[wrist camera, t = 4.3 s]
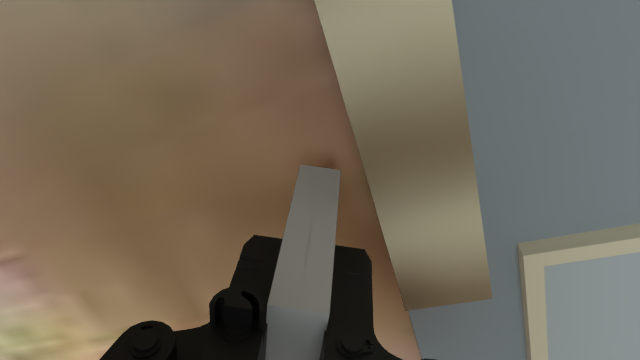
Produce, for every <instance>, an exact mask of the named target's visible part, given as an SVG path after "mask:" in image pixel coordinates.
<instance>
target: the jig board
mask: <svg viewBox="0 0 640 360" xmlns="http://www.w3.org/2000/svg"><path fill="white" fill-rule="evenodd" d="M452 5H453V13H454V20H455V27H456V35H457V42H458V49H459V57H460V64H461V71H462V78H463V86H464V93H465V100H466V108H467V115H468V122H469V130H470V137H471V144H472V151H473V159H474V166H475V173H476V181H477V188H478V195H479V203H480V210H481V217H482V224H483V232H484V239H485V246H486V254H487V261H488V268H489V276H490V283H491V290H492V298H493V299H488V300H481V301H473V302H466V303H459V304H452V305H444V306H437V307H430V308H423V309H415V310H408V312H409V316H410V319H411V323H412V326H413V330H414V333H415V337H416V340H417V343H418V347H419V350H420V354H421V357H422V359H425V358H427V359H436V360H640V0H452Z"/></svg>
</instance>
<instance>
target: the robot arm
mask: <svg viewBox="0 0 640 360" xmlns="http://www.w3.org/2000/svg"><path fill="white" fill-rule="evenodd" d="M340 174H341V170H337V169H330V168H323V167H316V166H308V165H301V164H300V168H299V172H298V177H297V181H296V185H295V189H294V193H293V198H292V202H291V206H290V210H289V215H288V219H287V223H286V227H285V232H284V236H283V239H280V238H273V237H265V236H258V235H254V236H253V237H252V238H251V239H250V240H249V241H247V242H246V243H245V244H244V246H243V249H242V252H241V255H240V259H239V261H238V264H237V267H236V270H235V272H234V275H233V278H232V281H231V284H230V287H229V288H227V289H223V290H222V291H220V292H219V293H217V294H216V295H215V296H214V297H213V299H212V300H211V302H210V303H209V308H210V322H209V323H207V324H205V325H203V326H201V327H197V328H193V329H187V330H180V331H174V332H173V330H172V329H171V327H170V326H168V325H166V324H165V323H163V322H159V321H146V322H141V323H138V324H136V325H134V326H132V327H130V328H129V329H128V330H126V331H125V332H124V333H123V334H122V335H121V336H120V337H119V338H118V339H117V340H116V342H115V343H114V344H113V345H112V346H111V347H110V348H109V350H108V351H107V352H106V353H105V354H104V355H103V356H102V358H101V359H100V360H402V359H400V358H398V357H396V356H394V355H392V354H391V353H389V352H388V351H387V350H385V349H384V348H383V347H382V346H381V344H380V343H379V342H378V340H377V338H376V336H375V334H374V328H373V299H372V264H371V260H370V258H369V256H368V255H367V253H366V251H365V249H358V248H351V247H344V246H337V245H335V238H336V225H337V212H338V200H339V187H340ZM421 360H436V359H427V358H425V359H421Z"/></svg>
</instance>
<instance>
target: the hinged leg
mask: <svg viewBox="0 0 640 360" xmlns="http://www.w3.org/2000/svg"><path fill="white" fill-rule="evenodd" d="M314 1H315V4H316V8H317V11H318V15H319V18H320V21H321V25H322V28H323V32H324V35H325V38H326V42H327V45H328V49H329V52H330V55H331V59H332V62H333V66H334V69H335V72H336V76H337V79H338V83H339V86H340V89H341V93H342V96H343V100H344V103H345V106H346V110H347V113H348V117H349V120H350V123H351V127H352V130H353V134H354V137H355V140H356V144H357V147H358V150H359V154H360V157H361V161H362V164H363V167H364V171H365V174H366V178H367V181H368V184H369V188H370V191H371V195H372V198H373V201H374V205H375V208H376V212H377V215H378V218H379V222H380V225H381V229H382V232H383V235H384V239H385V242H386V246H387V249H388V252H389V256H390V259H391V263H392V266H393V269H394V273H395V276H396V280H397V283H398V286H399V290H400V293H401V297H402V300H403V303H404V307H405V310H406V311H408V310H415V309H423V308H430V307H437V306H444V305H452V304H459V303H466V302H473V301H481V300H488V299H493V298H492V290H491V283H490V276H489V268H488V261H487V254H486V246H485V239H484V232H483V224H482V217H481V210H480V203H479V195H478V188H477V181H476V173H475V166H474V159H473V151H472V144H471V137H470V130H469V122H468V115H467V108H466V100H465V93H464V86H463V78H462V71H461V64H460V57H459V49H458V42H457V35H456V27H455V20H454V13H453V5H452V0H314Z"/></svg>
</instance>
